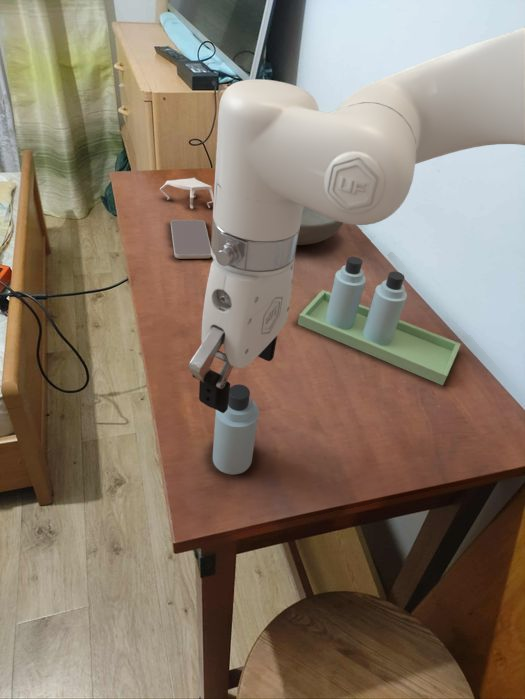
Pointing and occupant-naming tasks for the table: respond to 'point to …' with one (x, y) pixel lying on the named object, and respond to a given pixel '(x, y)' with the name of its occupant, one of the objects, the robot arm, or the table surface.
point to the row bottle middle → (385, 309)
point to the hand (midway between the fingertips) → (238, 379)
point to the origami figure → (189, 188)
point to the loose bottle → (235, 432)
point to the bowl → (316, 227)
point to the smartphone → (190, 239)
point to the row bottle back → (346, 294)
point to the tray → (403, 351)
